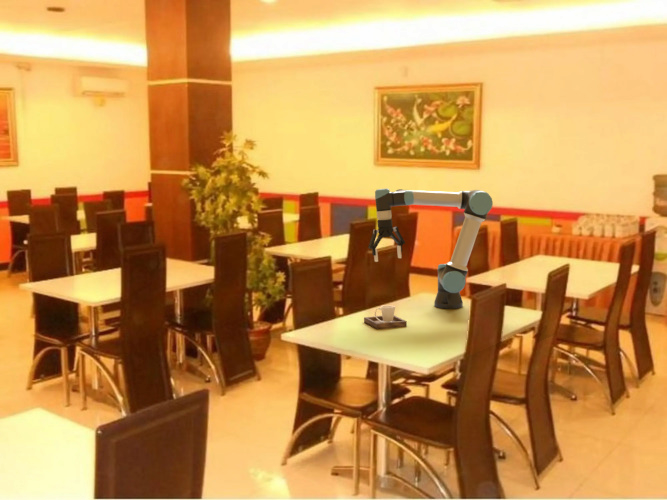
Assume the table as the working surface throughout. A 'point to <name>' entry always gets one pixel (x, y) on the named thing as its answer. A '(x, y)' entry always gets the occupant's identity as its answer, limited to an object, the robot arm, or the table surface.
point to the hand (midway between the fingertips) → (388, 259)
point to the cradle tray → (379, 325)
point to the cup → (387, 313)
